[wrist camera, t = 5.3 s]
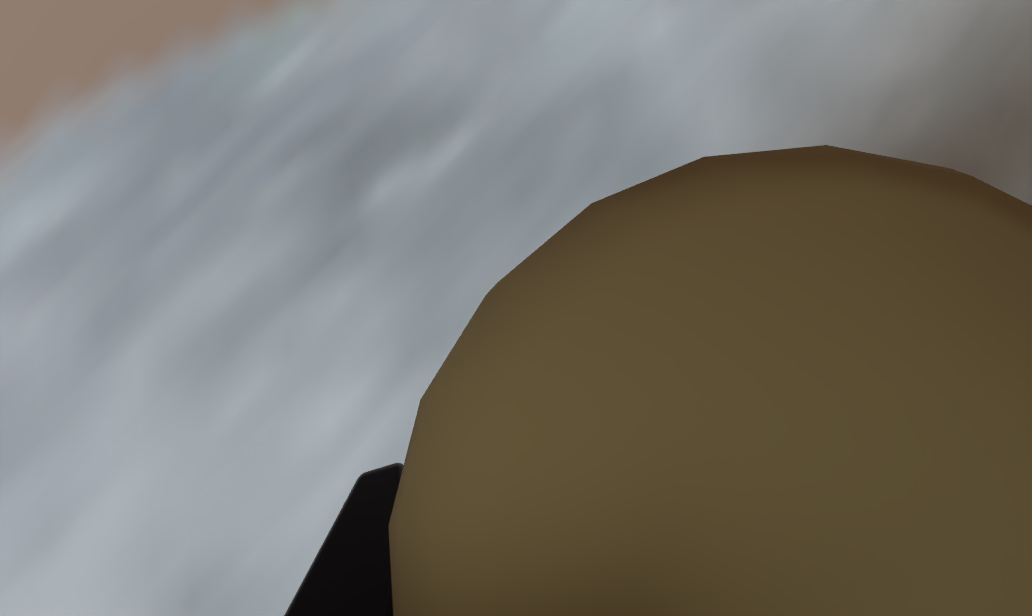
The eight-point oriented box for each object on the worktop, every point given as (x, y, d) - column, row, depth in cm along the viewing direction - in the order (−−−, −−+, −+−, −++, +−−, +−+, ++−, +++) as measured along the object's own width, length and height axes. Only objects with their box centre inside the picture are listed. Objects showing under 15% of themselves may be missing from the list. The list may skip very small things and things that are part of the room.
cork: (392, 682, 15) (5, 958, 4) (536, 326, 16) (529, -154, 6) (771, 847, 14) (1516, 1717, 3) (886, 458, 15) (1655, 197, 5)
